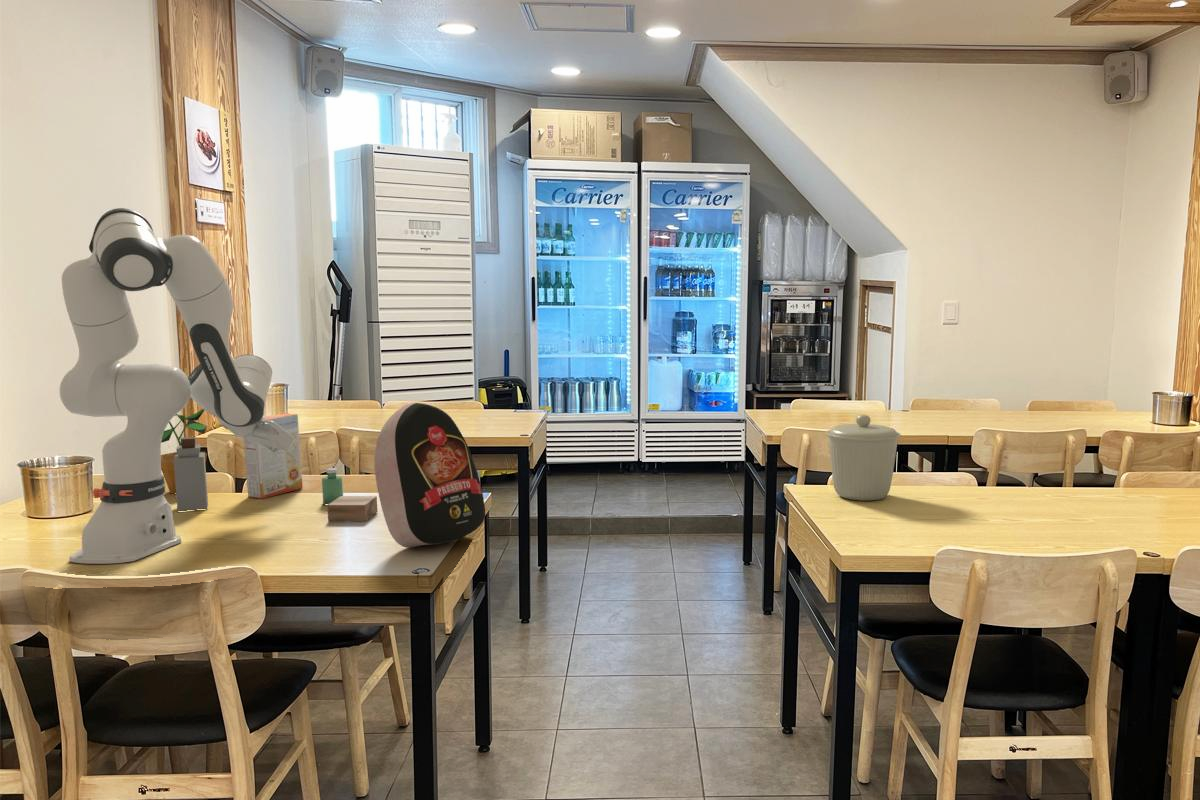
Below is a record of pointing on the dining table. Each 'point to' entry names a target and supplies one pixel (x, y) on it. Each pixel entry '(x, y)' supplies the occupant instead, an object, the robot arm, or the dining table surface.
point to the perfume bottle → (190, 476)
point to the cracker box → (273, 463)
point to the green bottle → (331, 486)
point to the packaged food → (426, 478)
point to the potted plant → (168, 459)
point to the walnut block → (352, 508)
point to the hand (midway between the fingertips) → (286, 452)
